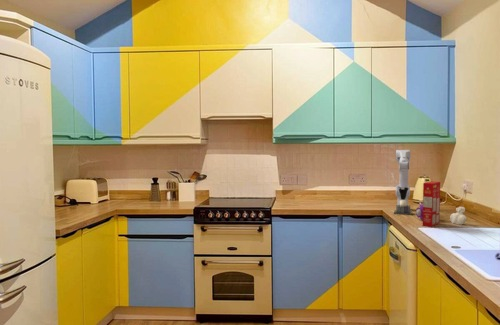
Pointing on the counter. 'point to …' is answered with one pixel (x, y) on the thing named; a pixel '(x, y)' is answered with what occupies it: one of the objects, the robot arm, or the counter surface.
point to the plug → (403, 203)
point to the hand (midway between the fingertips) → (403, 198)
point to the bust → (458, 216)
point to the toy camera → (419, 211)
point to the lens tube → (403, 210)
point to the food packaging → (431, 203)
